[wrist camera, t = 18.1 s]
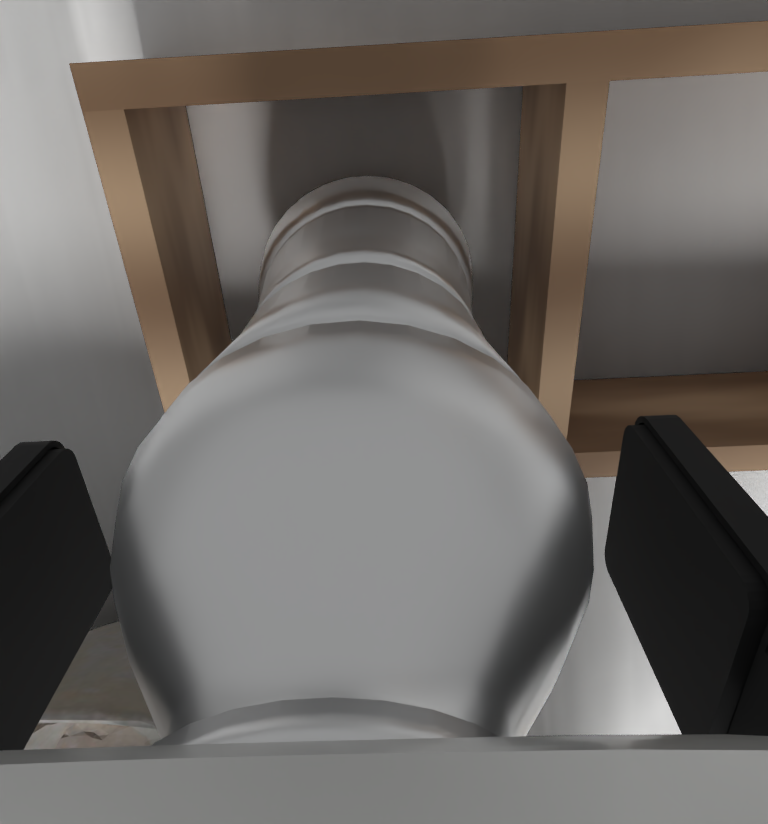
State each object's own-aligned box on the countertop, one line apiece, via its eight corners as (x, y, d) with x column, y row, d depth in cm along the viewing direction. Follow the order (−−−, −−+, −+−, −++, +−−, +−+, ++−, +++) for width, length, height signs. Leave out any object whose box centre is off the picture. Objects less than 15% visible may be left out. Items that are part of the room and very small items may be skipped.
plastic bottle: (240, 209, 20) (-610, 1051, 3) (429, 129, 19) (908, 749, 2) (318, 369, 23) (133, 1252, 6) (486, 309, 22) (871, 1198, 5)
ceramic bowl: (-90, 510, 27) (-315, 721, 18) (422, 510, 27) (440, 721, 18) (48, 783, 38) (-51, 995, 29) (410, 784, 38) (418, 995, 29)
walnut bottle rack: (820, 391, 24) (918, 463, 19) (221, 418, 24) (186, 494, 20) (954, 14, 18) (1142, -3, 13) (144, 64, 18) (69, 63, 14)
